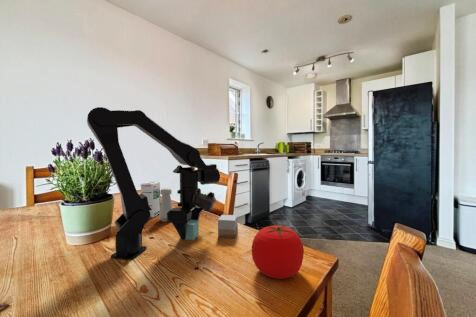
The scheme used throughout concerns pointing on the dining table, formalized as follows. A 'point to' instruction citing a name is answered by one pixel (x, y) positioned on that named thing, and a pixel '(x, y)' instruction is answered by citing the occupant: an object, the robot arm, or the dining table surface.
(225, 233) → the tower lower
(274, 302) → the dining table surface
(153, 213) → the syrup box
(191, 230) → the teal block
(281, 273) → the tomato
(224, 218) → the tower upper
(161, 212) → the salt shaker
